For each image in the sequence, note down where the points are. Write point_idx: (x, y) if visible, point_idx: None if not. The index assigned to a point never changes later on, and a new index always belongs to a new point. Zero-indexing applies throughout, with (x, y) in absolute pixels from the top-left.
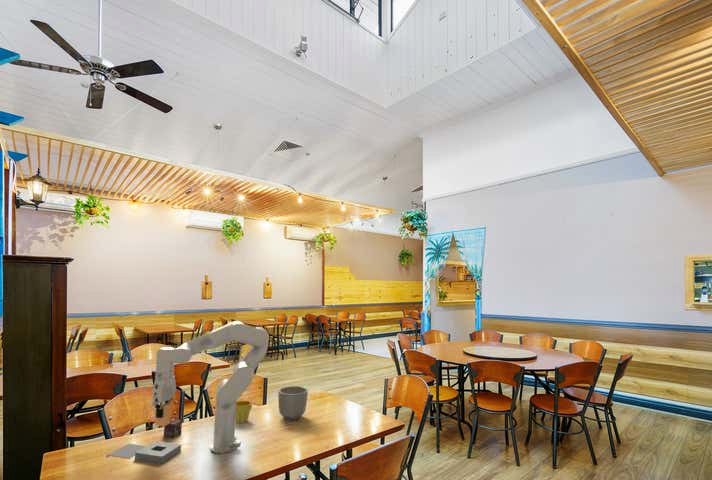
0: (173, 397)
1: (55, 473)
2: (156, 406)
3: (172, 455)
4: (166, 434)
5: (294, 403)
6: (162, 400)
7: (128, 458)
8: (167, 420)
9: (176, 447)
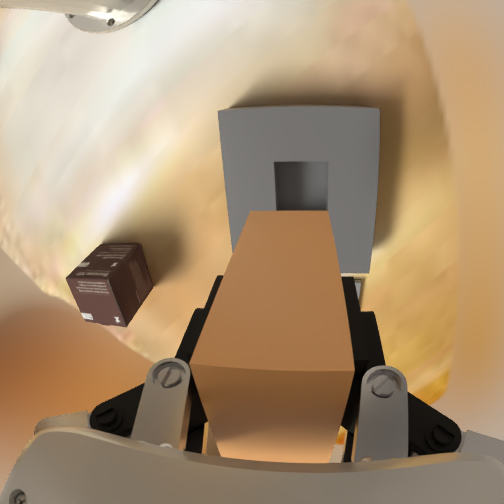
0: (88, 430)
1: (447, 384)
2: (451, 430)
3: (291, 105)
4: (144, 284)
5: None
6: (482, 490)
7: (360, 285)
8: (278, 228)
9: (257, 109)
